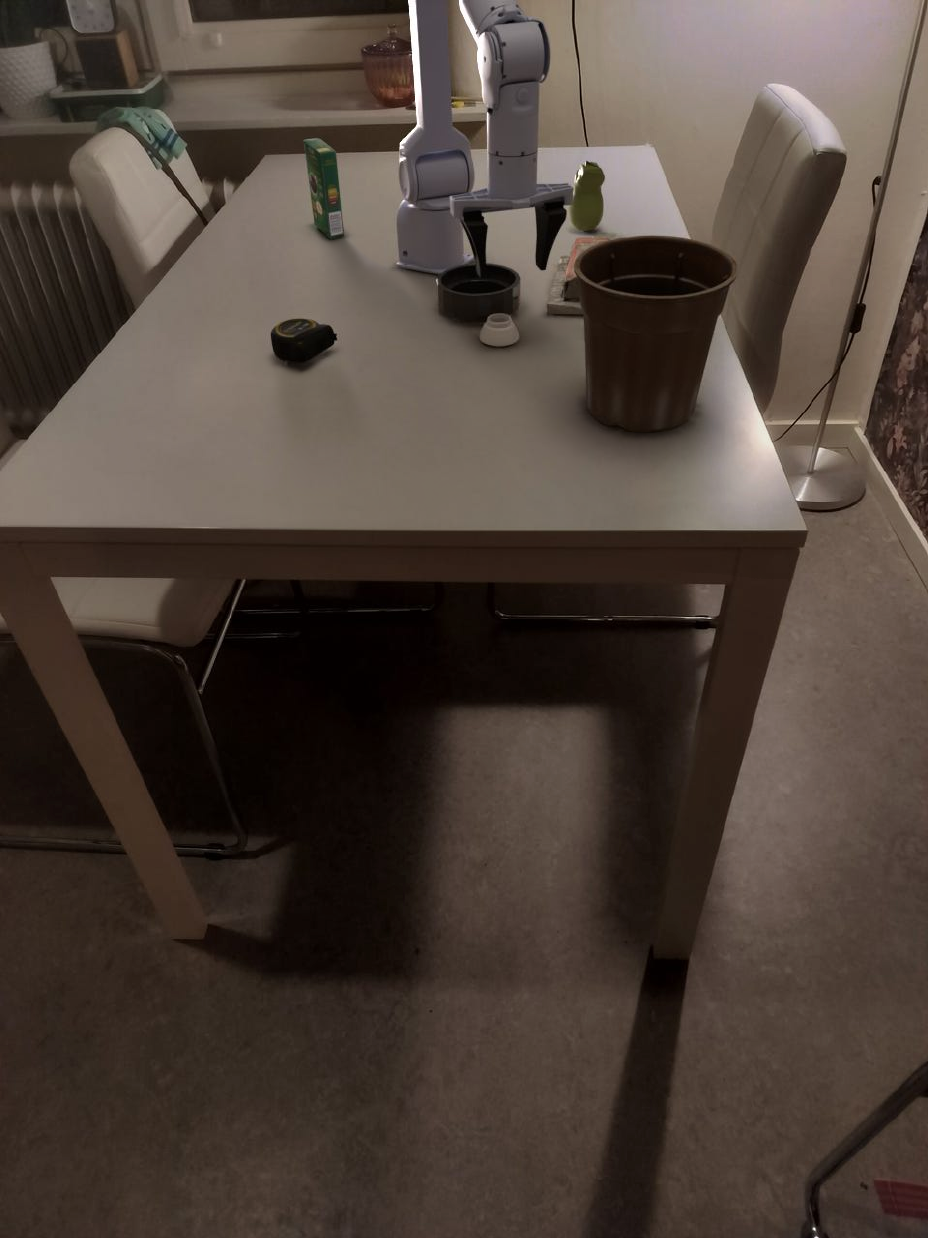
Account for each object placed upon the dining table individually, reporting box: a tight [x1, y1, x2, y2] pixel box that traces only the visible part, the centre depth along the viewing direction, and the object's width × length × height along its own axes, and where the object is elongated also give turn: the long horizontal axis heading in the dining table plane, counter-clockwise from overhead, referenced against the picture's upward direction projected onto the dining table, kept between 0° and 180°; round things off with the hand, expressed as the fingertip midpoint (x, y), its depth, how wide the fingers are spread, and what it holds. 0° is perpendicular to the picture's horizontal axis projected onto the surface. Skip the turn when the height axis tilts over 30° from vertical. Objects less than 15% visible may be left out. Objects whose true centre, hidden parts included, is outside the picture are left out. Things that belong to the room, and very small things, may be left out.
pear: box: [568, 160, 606, 232], centre depth 139 cm, size 6×5×10 cm
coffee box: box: [303, 137, 345, 240], centre depth 140 cm, size 8×3×13 cm, turn 26°
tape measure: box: [270, 317, 338, 364], centre depth 110 cm, size 7×7×4 cm
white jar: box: [479, 313, 520, 347], centre depth 112 cm, size 5×3×5 cm
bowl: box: [435, 262, 522, 324], centre depth 119 cm, size 11×11×4 cm
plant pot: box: [574, 234, 739, 433], centre depth 94 cm, size 16×16×16 cm
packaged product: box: [546, 236, 612, 315], centre depth 122 cm, size 18×5×10 cm
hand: (511, 271), depth 108 cm, fingers open, 7 cm apart
